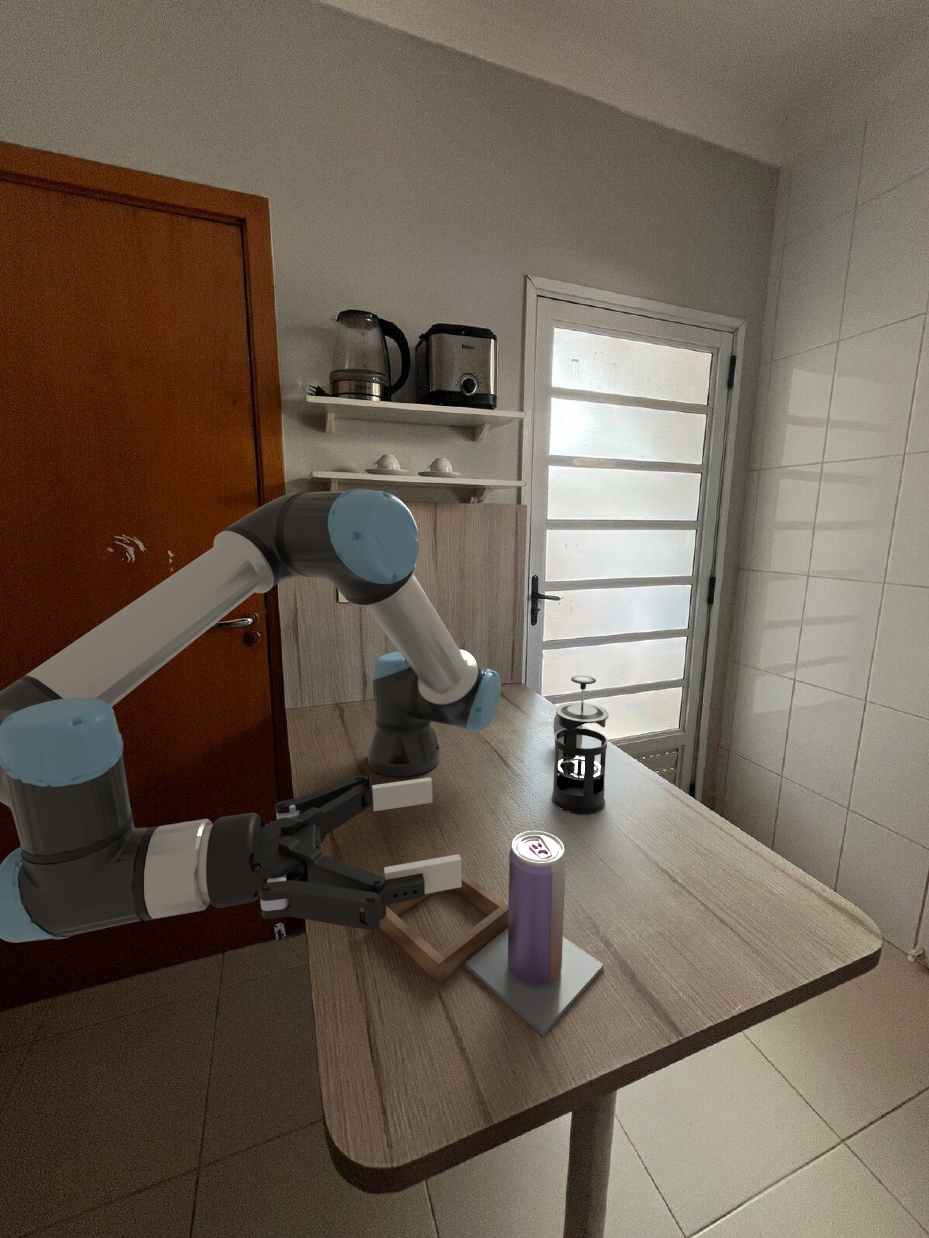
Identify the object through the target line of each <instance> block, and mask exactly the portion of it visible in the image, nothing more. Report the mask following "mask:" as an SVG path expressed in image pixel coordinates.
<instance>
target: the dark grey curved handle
mask: <svg viewBox="0 0 929 1238" xmlns="http://www.w3.org/2000/svg"><path fill="white" fill-rule="evenodd" d="M577 728H580V726H578V727H577ZM563 729H564V728H563V727H562V726H560V725H559V723H558V715H557V714H555V715H554V717H553V735H554V737H555V734H556V733H557V732H558V731H560V730H563ZM558 741H559V742H561V743H563V744H564V736H563V737H561V738H559V739H558ZM579 746H580V735H577V739H576V748H579ZM561 753H563V751H561Z"/></svg>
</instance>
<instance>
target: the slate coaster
mask: <svg viewBox="0 0 929 1238" xmlns="http://www.w3.org/2000/svg"><path fill="white" fill-rule="evenodd" d="M464 968H465V969H466V970H467V971H468V972H469V973H470V974H472V975H473V977H475V978H476V979H477V980H479V981H480V982H481V983H482V984H483V985H484V986H486V987H487V988H488V989H489V990H490V991H491V992H492V993H494V994H495V996H497V997H498V998H499V999H500V1000H501V1001H502V1002H503V1003H504V1004H506V1006H509V1008H511V1010H513V1011H514V1012H515V1013H516V1014H517V1015H518V1016H520V1017H521V1018H522V1019H523V1020H524V1021H526V1023H527V1024H529V1025H530V1026H531V1027H532V1028H533V1029H534V1030H535V1031H537V1032H538V1034H539V1035H541V1036H542V1037H545V1036H546V1034H547V1033H548V1032H549V1031H550V1030H551V1028H552V1027H554V1025H555V1024H556V1023H557V1022H558V1021H559V1020H560V1018H561V1017H562V1016H563V1015H564V1014H565V1013H566V1012H567V1011H568V1009H569V1008H570V1007H571V1006H572V1005H573V1004H574V1003H575V1002H576V1000H577V999H578V998H579V997H580V996H581V995H582V994H583V993H584V991H585V990H586V989H587V988H588V987H589V986H590V985H591V983H592V982H594V981H595V979H596V978H597V977H598V976H599V975H600V974H601V972H602V971H604V964H603V963H602V962H600V961H599V960H597V959H596V958H595V957H593V956H592V955H591V954H589V953H588V952H586V951H584V950H583V949H582V948H580V947H579V946H577V945H575V944H574V943H573V942H571V941H570V940H568V939H567V938H565V937H564V936H563V945H562V968H561V971H560V974H559V975H558V977H557V978H556V979H555V980H554V981H553V982H551V983H550V984H548V985H546V986H541V987H534V986H529V985H526V984H524V983H522V982H521V981H520V980H518V979H517V978H516V977H515V975H514V974H513V973H512V971H511V969H510V967H509V965H508V927H507V928H506V929H505V930H504V931H502V932H501V933H500V934H499V935H498V936H496V937H495V938H494V939H493V940H492V941H490V942H489V943H488V944H487V945H485V946H484V947H483V948H482V949H481V950H479V951H478V952H477V953H476V954H475V955H473V956H472V957H471V958H470V959H468V960H467V961H466V962H465V963H464Z"/></svg>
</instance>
